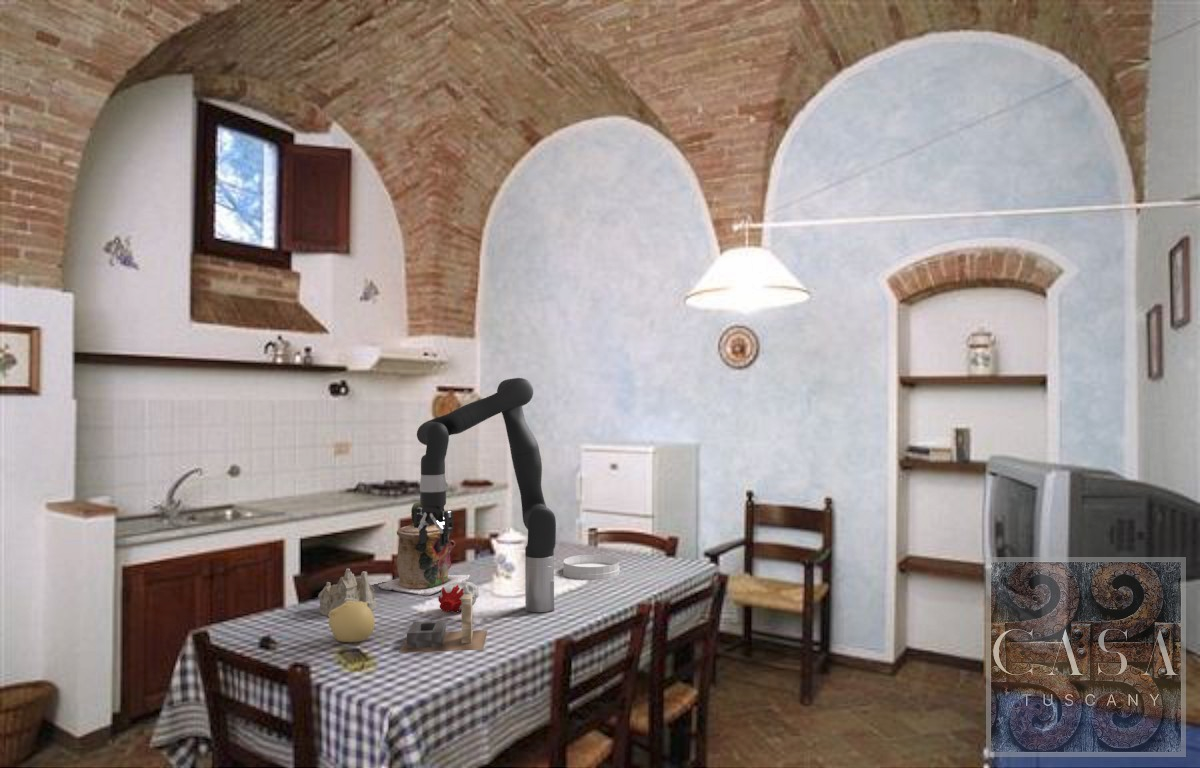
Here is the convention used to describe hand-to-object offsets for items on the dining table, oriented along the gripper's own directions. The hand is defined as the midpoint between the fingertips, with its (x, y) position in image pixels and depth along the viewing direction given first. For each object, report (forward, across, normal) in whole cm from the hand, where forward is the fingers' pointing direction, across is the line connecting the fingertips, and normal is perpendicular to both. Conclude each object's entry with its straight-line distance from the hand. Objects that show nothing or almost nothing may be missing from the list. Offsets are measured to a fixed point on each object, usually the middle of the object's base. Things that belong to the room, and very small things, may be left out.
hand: (433, 544), depth 219 cm
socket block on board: (+25, -14, +9) cm, 30 cm away
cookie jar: (+26, +42, -35) cm, 60 cm away
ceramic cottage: (+25, +39, +1) cm, 46 cm away
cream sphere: (+25, +13, +19) cm, 34 cm away
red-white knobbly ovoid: (+25, +8, -17) cm, 32 cm away
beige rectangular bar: (+24, -18, +5) cm, 30 cm away
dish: (+26, +1, -83) cm, 87 cm away
